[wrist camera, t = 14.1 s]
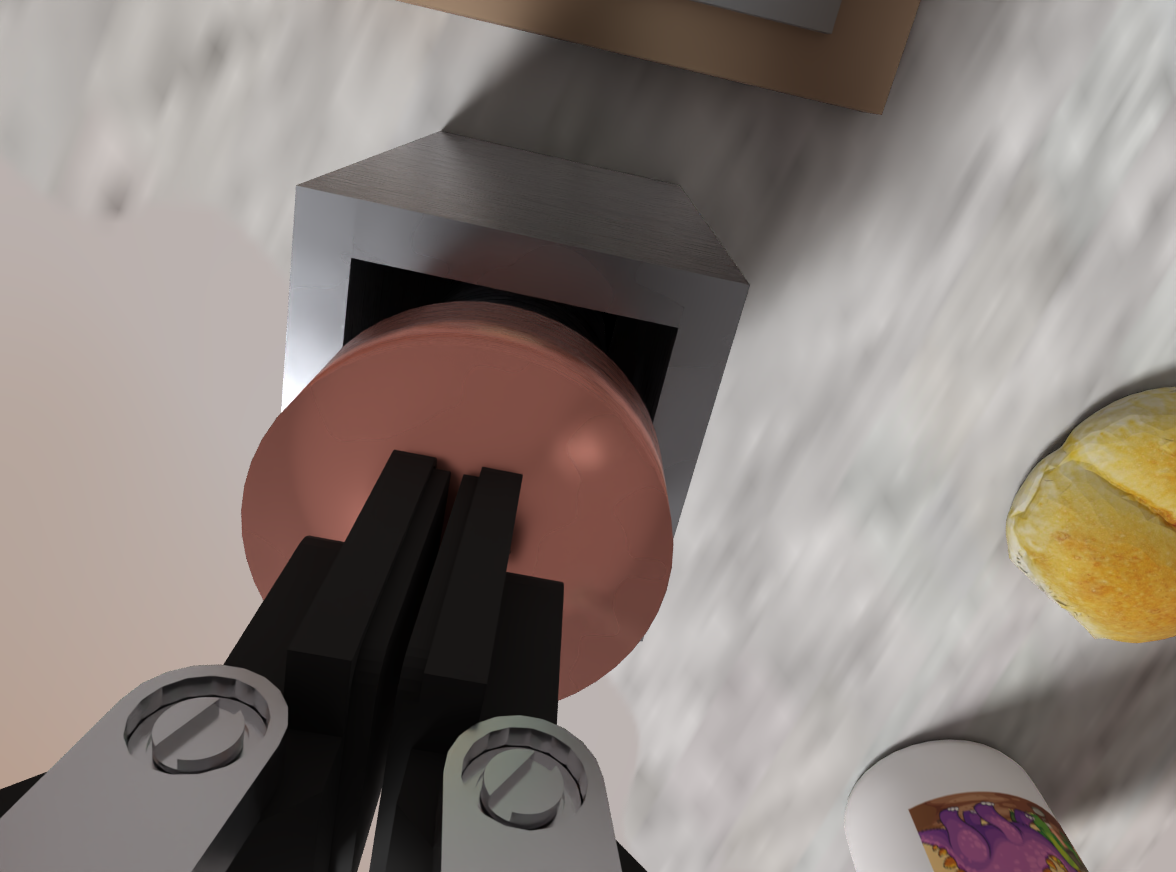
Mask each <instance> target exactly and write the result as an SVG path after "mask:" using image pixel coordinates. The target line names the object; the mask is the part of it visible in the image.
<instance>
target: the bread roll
mask: <svg viewBox="0 0 1176 872" xmlns="http://www.w3.org/2000/svg"><path fill="white" fill-rule="evenodd" d="M1006 538H1007V544H1008V552H1009V558H1010V560H1011V561H1012V562H1013V563H1014V564H1015V565H1016V566H1017V567H1018V568H1019V569H1020V570H1021V571H1022V572H1023V573H1024V574H1025V575H1026V576H1027V577H1028V578H1029V579H1030V580H1031V581H1032V583H1034V584H1035V585H1036V586H1037V587H1038V588H1039V589H1040V590H1041V591H1043V592H1045V593H1046V595H1047V597H1048V598H1049V599H1051V600H1052V601H1054V602H1055V603H1057V604H1058V605H1060V606H1061V607H1062V608H1064V609H1066V610H1067V611H1068V613H1069V614H1070V615H1071V616H1073V617H1074V618H1075V619H1076V620H1077V621H1078V622H1079V623H1080V624H1081V625H1082V626H1083V627H1084V628H1085V629H1086V630H1087V631H1088V632H1089V633H1090V634H1091V635H1092V636H1093V638H1094V639H1102V638H1106V639H1111V640H1116V641H1122V642H1129V643H1142V642H1150V641H1156V640H1162V639H1166V638H1169V637H1174V636H1176V387H1163V388H1157V389H1151V390H1147V391H1143V392H1140V393H1136V394H1132V395H1129V396H1126V397H1124V398H1122V399H1119V400H1117V401H1115V402H1113V403H1111V404H1109V405H1107V406H1106V407H1104V408H1102V409H1100V410H1099V411H1097V412H1095V413H1094V414H1092V415H1091V416H1089V417H1088V418H1087V419H1086V420H1084V421H1083V422H1082V423H1080V424H1079V425H1078V426H1077V427H1076V428H1075V429H1073V431H1072V432H1071V433H1070V435H1069V436H1068V438H1067V439H1066V441H1065V443H1064V444H1063V445H1062V446H1061V447H1060V448H1059V449H1057V450H1056V451H1054V452H1053V453H1051V454H1049V455H1048V456H1046V457H1045V458H1044V459H1042V460H1041V461H1040V462H1039V463H1037V465H1036V466H1035V467H1034V468H1033V470H1032V471H1031V472H1030V473H1029V475H1028V476H1027V478H1026V480H1025V481H1024V483H1023V485H1022V486H1021V488H1020V489H1019V491H1018V492H1017V494H1016V495H1015V498H1014V501H1013V503H1012V506H1011V508H1010V511H1009V513H1008V516H1007V520H1006Z"/></svg>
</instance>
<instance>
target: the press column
mask: <svg viewBox="0 0 1176 872" xmlns="http://www.w3.org/2000/svg"><path fill="white" fill-rule="evenodd" d="M451 279H453V280H457V281H462V282H467V283H471V284H476V285H481V286H485V287H490V288H495V289H500V290H504V291H509V292H514V293H518V294H523V295H528V296H532V297H537V298H542V299H546V300H551V301H556V302H560V303H565V304H570V305H574V306H579V307H584V308H588V309H593V310H598V311H602V312H607V313H612V314H616V315H617V318H616V322H615V326H614V331H613V335H612V339H611V343H610V348H609V352H608V357H609V358H610V359H611V360H612V361H613V362H614V363H615V364H616V365H617V366H618V367H619V368H620V369H621V370H622V372H623V373H624V374H625V375H626V377H627V378H628V379H629V381H630V382H631V383H632V385H633V386H634V387H635V389H636V390H637V392H638V394H639V396H640V397H641V399H642V401H643V403H644V405H645V406H646V408H647V410H648V413H649V415H650V418H651V420H652V423H653V425H654V428H655V431H656V435H657V439H658V444H659V448H660V452H661V458H662V464H663V471H664V477H665V483H666V489H667V495H668V502H669V508H670V514H671V521H672V533H673V538H674V535H675V532H676V528H677V525H678V522H679V518H680V515H681V512H682V508H683V505H684V502H685V499H686V495H687V492H688V489H689V485H690V482H691V479H692V475H693V472H694V469H695V465H696V462H697V459H698V455H699V452H700V449H701V446H702V442H703V439H704V436H705V432H706V429H707V426H708V422H709V419H710V416H711V412H712V409H713V406H714V402H715V399H716V396H717V392H718V389H719V386H720V383H721V379H722V376H723V373H724V369H725V366H726V363H727V359H728V356H729V353H730V349H731V346H732V343H733V339H734V336H735V333H736V330H737V326H738V323H739V320H740V316H741V313H742V310H743V306H744V303H745V300H746V296H747V293H748V290H749V286H750V285H749V283H748V282H747V280H746V279H745V277H744V276H743V275H742V273H741V272H740V270H739V269H738V268H737V266H736V265H735V263H734V262H733V260H732V259H731V258H730V256H729V255H728V253H727V252H726V250H725V249H724V248H723V246H722V245H721V243H720V242H719V241H718V239H717V238H716V236H715V235H714V233H713V232H712V231H711V229H710V228H709V226H708V225H707V224H706V222H705V221H704V219H703V218H702V216H701V215H700V214H699V212H698V211H697V209H696V208H695V207H694V205H693V204H692V202H691V201H690V199H689V198H688V197H687V195H686V194H685V192H684V191H683V190H682V188H681V187H680V186H679V185H675V184H671V183H666V182H662V181H657V180H653V179H649V178H644V177H640V176H635V175H631V174H627V173H622V172H618V171H613V170H609V169H605V168H600V167H596V166H591V165H587V164H583V163H578V162H574V161H570V160H565V159H561V158H556V157H552V156H548V155H543V154H539V153H534V152H530V151H526V150H521V149H517V148H512V147H508V146H504V145H499V144H495V143H490V142H486V141H482V140H477V139H473V138H469V137H464V136H460V135H455V134H451V133H447V132H442V131H439V132H436V133H434V134H431V135H429V136H426V137H423V138H421V139H418V140H415V141H413V142H410V143H407V144H405V145H402V146H399V147H397V148H394V149H391V150H389V151H386V152H383V153H381V154H378V155H375V156H373V157H370V158H368V159H365V160H362V161H360V162H357V163H354V164H352V165H349V166H346V167H344V168H341V169H338V170H336V171H333V172H330V173H328V174H325V175H322V176H320V177H317V178H314V179H312V180H309V181H307V182H304V183H301V184H299V185H296V195H295V211H294V226H293V241H292V257H291V272H290V288H289V303H288V318H287V334H286V350H285V365H284V380H283V395H282V396H283V397H282V410H281V413H282V412H283V410H284V409H285V408H286V407H287V406H288V405H289V404H290V403H291V402H292V401H293V400H294V399H295V398H296V396H297V395H298V394H299V393H300V392H301V391H302V390H303V389H304V388H305V387H306V386H307V385H308V384H309V382H310V381H311V380H312V379H313V378H314V377H315V376H316V375H317V374H318V373H319V372H320V371H321V370H322V369H323V367H324V366H325V365H326V364H327V363H328V362H329V361H330V360H331V359H332V358H333V357H334V356H335V355H336V354H337V353H338V352H339V351H340V349H341V348H342V347H343V346H345V345H346V344H347V343H348V342H350V341H351V340H352V339H354V338H355V337H356V336H357V335H359V334H360V333H361V332H363V331H364V330H366V329H368V328H370V327H371V326H373V325H375V324H377V323H378V322H380V321H382V320H384V319H386V318H389V317H391V316H394V315H396V314H399V313H401V312H404V311H406V310H410V309H414V308H418V307H422V306H426V305H430V304H436V303H439V301H440V300H441V298H442V297H443V295H444V294H445V292H446V291H447V290H448V288H449V287H450V282H451ZM643 638H644V636H643V637H642V639H641V640H640V641H643Z"/></svg>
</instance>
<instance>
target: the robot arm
mask: <svg viewBox="0 0 1176 872" xmlns="http://www.w3.org/2000/svg"><path fill="white" fill-rule="evenodd" d="M436 468H437V458H436V457H431V456H425V455H420V454H415V453H410V452H405V451H400V450H393V452H392V453H391V455H390V457H389V459H388V461H387V463H386V465H385V467H384V469H383V470H382V472H381V474H380V476H379V478H378V480H377V482H376V484H375V485H374V487H373V489H372V491H371V493H370V495H369V497H368V499H367V500H366V502H365V504H364V506H363V508H362V510H361V512H360V514H359V516H358V517H357V519H356V521H355V523H354V525H353V527H352V529H351V531H350V532H349V534H348V536H347V538H346V540H345V542H342V541H337V540H332V539H326V538H321V537H315V536H310V535H309V536H305V537H304V538H303V540H302V541H301V542H300V543H299V545H298V547H297V548H296V550H295V551H294V553H293V554H292V556H291V558H290V559H289V561H288V562H287V564H286V566H285V567H284V569H283V570H282V572H281V574H280V575H279V577H278V578H277V580H276V582H275V583H274V585H273V586H272V588H271V590H270V591H269V593H268V594H267V596H266V598H265V599H264V601H263V603H262V604H261V606H260V607H259V609H258V611H257V612H256V614H255V616H254V617H253V618H252V620H251V622H250V624H249V625H248V626H247V628H246V630H245V631H244V633H243V634H242V636H241V638H240V639H239V641H238V643H237V644H236V645H235V647H234V649H233V650H232V652H231V653H230V655H229V657H228V658H227V660H226V662H225V663H224V665H199V666H190V667H186V668H182V669H178V670H174V671H169V672H166V673H164V674H161V675H160V676H157V677H155V678H153V679H150V680H148V681H146V682H144V683H142V684H140V685H139V686H138V687H136V688H135V689H134V690H132V691H131V692H130V693H128V694H127V695H126V696H125V697H123V698H122V699H121V700H120V701H119V702H118V703H117V704H116V705H115V706H114V707H113V708H112V709H111V710H110V711H109V712H108V713H106V714H105V716H103V718H101V719H100V720H99V722H97V723H96V725H94V726H93V727H92V728H91V729H90V730H89V731H88V732H87V733H86V734H85V735H84V736H83V737H82V738H81V739H80V740H79V741H78V742H77V743H76V744H75V745H74V746H73V747H72V748H71V749H70V750H69V751H68V752H67V753H66V754H65V755H64V756H63V757H62V758H61V759H60V760H59V761H58V762H57V763H56V764H55V765H54V766H53V767H52V768H51V769H50V770H49V771H48V772H45V773H43V774H40V775H37V776H35V777H32V778H29V779H27V780H24V781H21V782H19V783H16V784H13V785H11V786H8V787H5V788H3V789H0V872H357V870H358V867H359V863H360V860H361V856H362V853H363V850H364V847H365V843H366V840H367V836H368V833H369V830H370V826H371V823H372V819H373V816H374V812H375V809H376V806H377V802H378V799H379V796H380V792H381V798H380V805H379V812H378V818H377V825H376V831H375V837H374V845H373V850H372V857H371V863H370V870H369V872H647V871H646V870H645V869H644V868H643V867H642V866H641V865H640V864H639V863H638V862H637V861H636V860H635V859H634V858H633V857H632V856H631V855H630V854H629V853H628V852H627V851H626V850H625V849H624V848H623V847H622V846H621V845H620V844H619V843H618V842H617V841H616V839H615V834H614V829H613V823H612V818H611V813H610V809H609V803H608V798H607V793H606V788H605V783H604V778H603V776H602V773H601V770H600V767H599V765H598V762H597V760H596V758H595V757H594V756H593V754H592V753H591V752H590V751H589V749H588V748H587V747H586V745H584V743H583V742H582V741H581V740H579V739H578V738H577V737H575V736H574V735H573V734H571V733H570V732H569V731H567V730H566V729H564V728H562V727H560V726H558V725H557V711H558V710H557V709H558V693H559V674H560V656H561V638H562V619H563V601H564V583H563V582H560V581H555V580H549V579H544V578H538V577H533V576H527V575H522V574H517V573H511V572H506V571H507V565H508V559H509V553H510V547H511V542H512V536H513V530H514V524H515V519H516V513H517V507H518V501H519V496H520V490H521V484H522V478H523V474H518V473H513V472H508V471H503V470H498V469H492V468H487V467H482V469H481V472H480V476H479V477H476V476H471V475H466V474H463V477H462V480H461V483H460V486H459V490H458V493H457V496H456V499H455V502H454V505H453V508H452V511H451V514H450V517H449V520H448V524H447V527H446V530H445V533H444V536H443V539H442V542H441V545H440V539H441V533H442V527H443V521H444V515H445V509H446V503H447V497H448V491H449V485H450V477H451V472H450V471H445V470H440V469H436ZM439 545H440V548H439ZM381 789H382V791H381Z"/></svg>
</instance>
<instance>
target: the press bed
mask: <svg viewBox="0 0 1176 872" xmlns="http://www.w3.org/2000/svg"><path fill="white" fill-rule="evenodd" d="M397 1H401V2H405V3H409V4H413V5H418V6H422V7H426V8H430V9H434V10H439V11H443V12H447V13H451V14H455V15H459V16H464V17H468V18H472V19H476V20H480V21H485V22H489V23H493V24H497V25H501V26H505V27H510V28H514V29H518V30H522V31H526V32H531V33H535V34H539V35H543V36H547V37H551V38H556V39H560V40H564V41H568V42H572V43H577V44H581V45H585V46H589V47H593V48H598V49H602V50H606V51H610V52H614V53H618V54H623V55H627V56H631V57H635V58H639V59H644V60H648V61H652V62H656V63H660V64H664V65H669V66H673V67H677V68H681V69H685V70H690V71H694V72H698V73H702V74H706V75H710V76H715V77H719V78H723V79H727V80H731V81H736V82H740V83H744V84H748V85H752V86H757V87H761V88H765V89H769V90H773V91H777V92H782V93H786V94H790V95H794V96H798V97H803V98H807V99H811V100H815V101H819V102H823V103H828V104H832V105H836V106H840V107H844V108H849V109H853V110H857V111H861V112H866V113H873V114H879V115H882V113H883V110H884V107H885V104H886V101H887V98H888V95H889V92H890V89H891V86H892V83H893V80H894V77H895V74H896V71H897V68H898V66H899V63H900V60H901V57H902V54H903V51H904V48H905V45H906V42H907V39H908V36H909V33H910V30H911V27H912V24H913V21H914V18H915V16H916V13H917V10H918V7H919V4H920V1H921V0H397Z"/></svg>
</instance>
